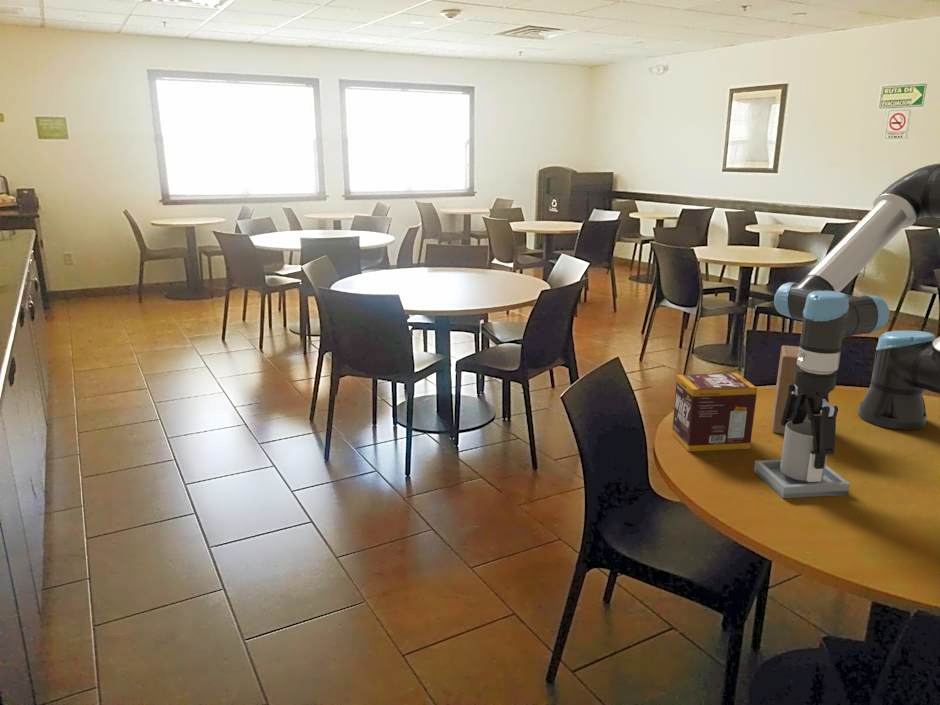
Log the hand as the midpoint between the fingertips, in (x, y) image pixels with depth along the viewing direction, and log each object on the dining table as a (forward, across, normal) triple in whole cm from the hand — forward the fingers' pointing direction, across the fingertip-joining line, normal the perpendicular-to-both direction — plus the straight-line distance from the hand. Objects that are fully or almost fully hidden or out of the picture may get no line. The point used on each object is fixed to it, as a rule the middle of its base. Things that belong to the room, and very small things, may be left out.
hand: (801, 470), depth 145 cm
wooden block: (+3, -27, +14) cm, 31 cm away
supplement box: (+3, -22, -10) cm, 24 cm away
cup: (+1, 0, 0) cm, 1 cm away
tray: (+3, 0, 0) cm, 3 cm away
